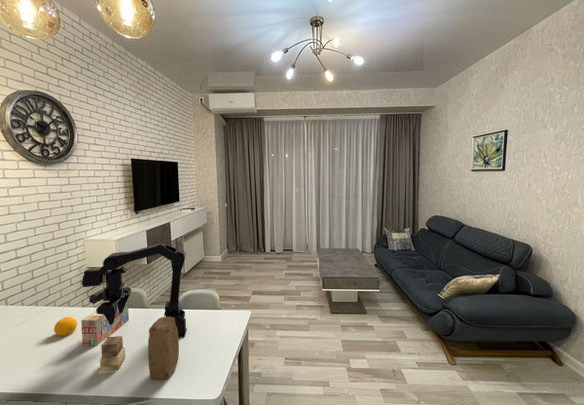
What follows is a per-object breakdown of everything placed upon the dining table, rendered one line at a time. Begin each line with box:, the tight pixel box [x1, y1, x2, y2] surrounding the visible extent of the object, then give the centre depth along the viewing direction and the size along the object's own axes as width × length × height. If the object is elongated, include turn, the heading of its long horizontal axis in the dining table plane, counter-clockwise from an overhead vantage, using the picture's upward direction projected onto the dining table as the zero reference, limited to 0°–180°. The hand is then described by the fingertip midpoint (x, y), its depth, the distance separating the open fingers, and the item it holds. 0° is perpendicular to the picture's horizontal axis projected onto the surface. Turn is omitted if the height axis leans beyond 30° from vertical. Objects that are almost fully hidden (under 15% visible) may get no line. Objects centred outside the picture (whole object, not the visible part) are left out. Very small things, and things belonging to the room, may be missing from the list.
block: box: [147, 316, 180, 381], centre depth 95 cm, size 11×8×20 cm
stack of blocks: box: [80, 302, 130, 347], centre depth 120 cm, size 21×6×12 cm, turn 0°
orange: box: [53, 316, 78, 337], centre depth 119 cm, size 8×8×8 cm
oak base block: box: [99, 346, 126, 372], centre depth 98 cm, size 6×6×5 cm
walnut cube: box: [100, 335, 124, 358], centre depth 97 cm, size 5×5×5 cm
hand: (116, 318), depth 110 cm, fingers open, 9 cm apart
